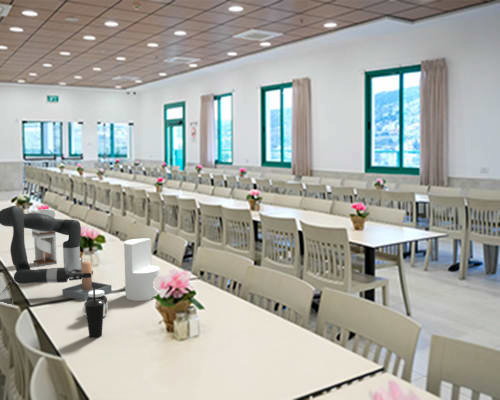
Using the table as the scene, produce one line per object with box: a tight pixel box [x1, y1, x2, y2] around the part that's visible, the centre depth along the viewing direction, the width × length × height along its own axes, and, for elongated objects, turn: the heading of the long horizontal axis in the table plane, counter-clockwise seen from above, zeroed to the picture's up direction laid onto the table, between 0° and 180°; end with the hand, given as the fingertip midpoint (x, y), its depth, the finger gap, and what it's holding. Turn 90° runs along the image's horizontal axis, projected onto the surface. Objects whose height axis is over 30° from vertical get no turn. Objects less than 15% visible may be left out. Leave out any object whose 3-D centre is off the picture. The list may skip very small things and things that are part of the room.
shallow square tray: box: [61, 281, 112, 302], centre depth 257 cm, size 18×16×4 cm
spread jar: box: [82, 290, 109, 320], centre depth 221 cm, size 12×11×12 cm
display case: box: [30, 208, 58, 267], centre depth 323 cm, size 11×11×35 cm
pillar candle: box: [81, 261, 93, 291], centre depth 256 cm, size 5×5×14 cm
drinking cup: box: [83, 287, 104, 339], centre depth 198 cm, size 8×8×20 cm
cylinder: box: [123, 237, 161, 302], centre depth 252 cm, size 17×17×28 cm
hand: (91, 273), depth 256 cm, fingers closed on pillar candle, 5 cm apart
